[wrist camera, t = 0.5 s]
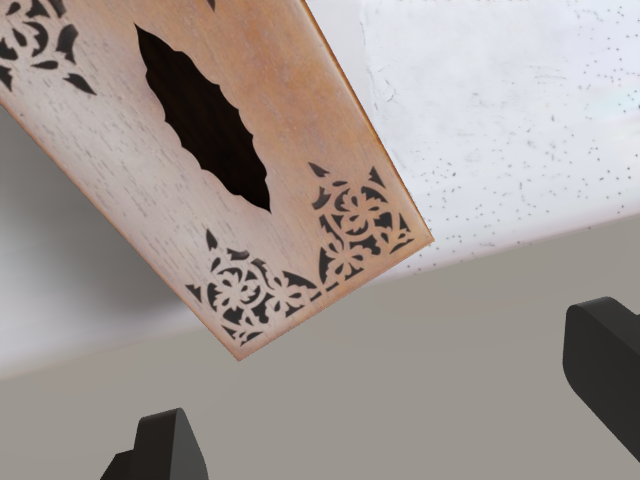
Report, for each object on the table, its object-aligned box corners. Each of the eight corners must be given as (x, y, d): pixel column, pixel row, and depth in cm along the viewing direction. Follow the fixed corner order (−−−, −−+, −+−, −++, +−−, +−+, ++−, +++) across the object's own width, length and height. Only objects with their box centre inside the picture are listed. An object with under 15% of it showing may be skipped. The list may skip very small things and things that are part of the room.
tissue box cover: (-25, -28, 28) (-137, -45, 19) (180, -176, 27) (161, -265, 18) (234, 283, 40) (238, 361, 31) (385, 188, 39) (434, 240, 30)
